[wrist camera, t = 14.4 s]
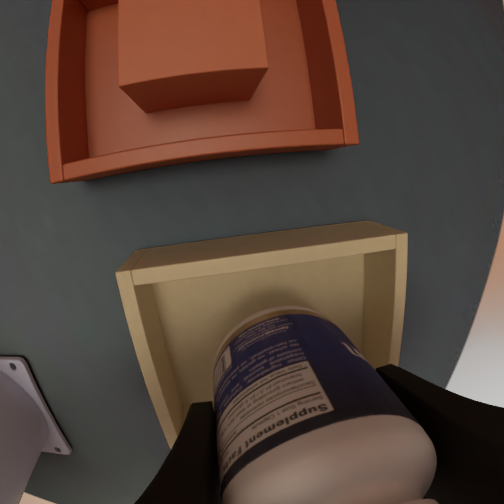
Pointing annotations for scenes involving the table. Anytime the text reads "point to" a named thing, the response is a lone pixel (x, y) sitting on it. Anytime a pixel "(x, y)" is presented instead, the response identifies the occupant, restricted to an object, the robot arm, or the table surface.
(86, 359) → the table surface
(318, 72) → the terracotta bin
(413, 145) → the table surface
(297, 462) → the pill bottle
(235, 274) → the cream bin
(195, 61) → the terracotta block
